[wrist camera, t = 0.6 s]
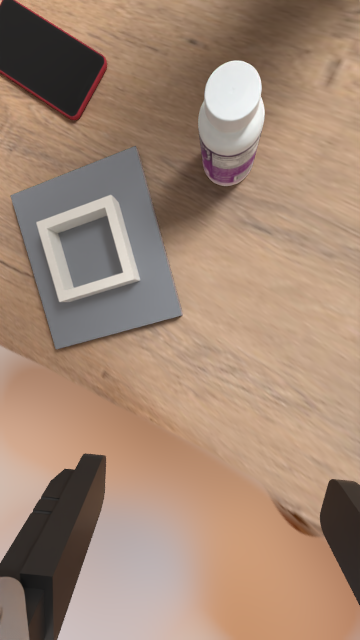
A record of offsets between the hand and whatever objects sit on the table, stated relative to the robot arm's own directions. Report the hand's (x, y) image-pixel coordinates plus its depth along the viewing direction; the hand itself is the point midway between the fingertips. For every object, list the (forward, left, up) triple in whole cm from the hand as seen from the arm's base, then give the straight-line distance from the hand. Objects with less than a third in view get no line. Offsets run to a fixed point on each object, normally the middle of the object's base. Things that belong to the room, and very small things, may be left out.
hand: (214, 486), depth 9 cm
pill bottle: (-20, +7, -21) cm, 30 cm away
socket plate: (-15, -10, -20) cm, 27 cm away
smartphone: (-38, -10, -21) cm, 45 cm away
